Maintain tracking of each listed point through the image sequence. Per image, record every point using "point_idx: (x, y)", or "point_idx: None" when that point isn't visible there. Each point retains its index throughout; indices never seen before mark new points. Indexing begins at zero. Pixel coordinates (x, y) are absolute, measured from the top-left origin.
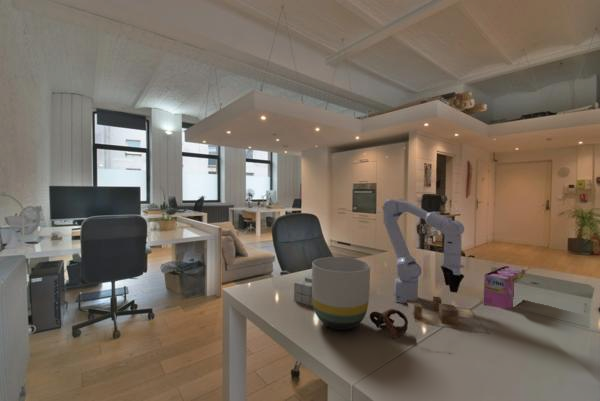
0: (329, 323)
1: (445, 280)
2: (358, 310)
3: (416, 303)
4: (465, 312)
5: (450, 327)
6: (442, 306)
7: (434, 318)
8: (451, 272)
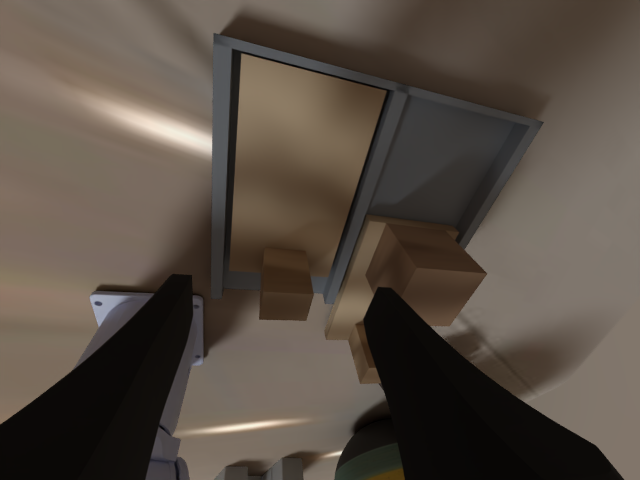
0: None
1: (177, 361)
2: None
3: (366, 378)
4: (297, 121)
5: None
6: (425, 319)
7: None
8: (117, 463)
